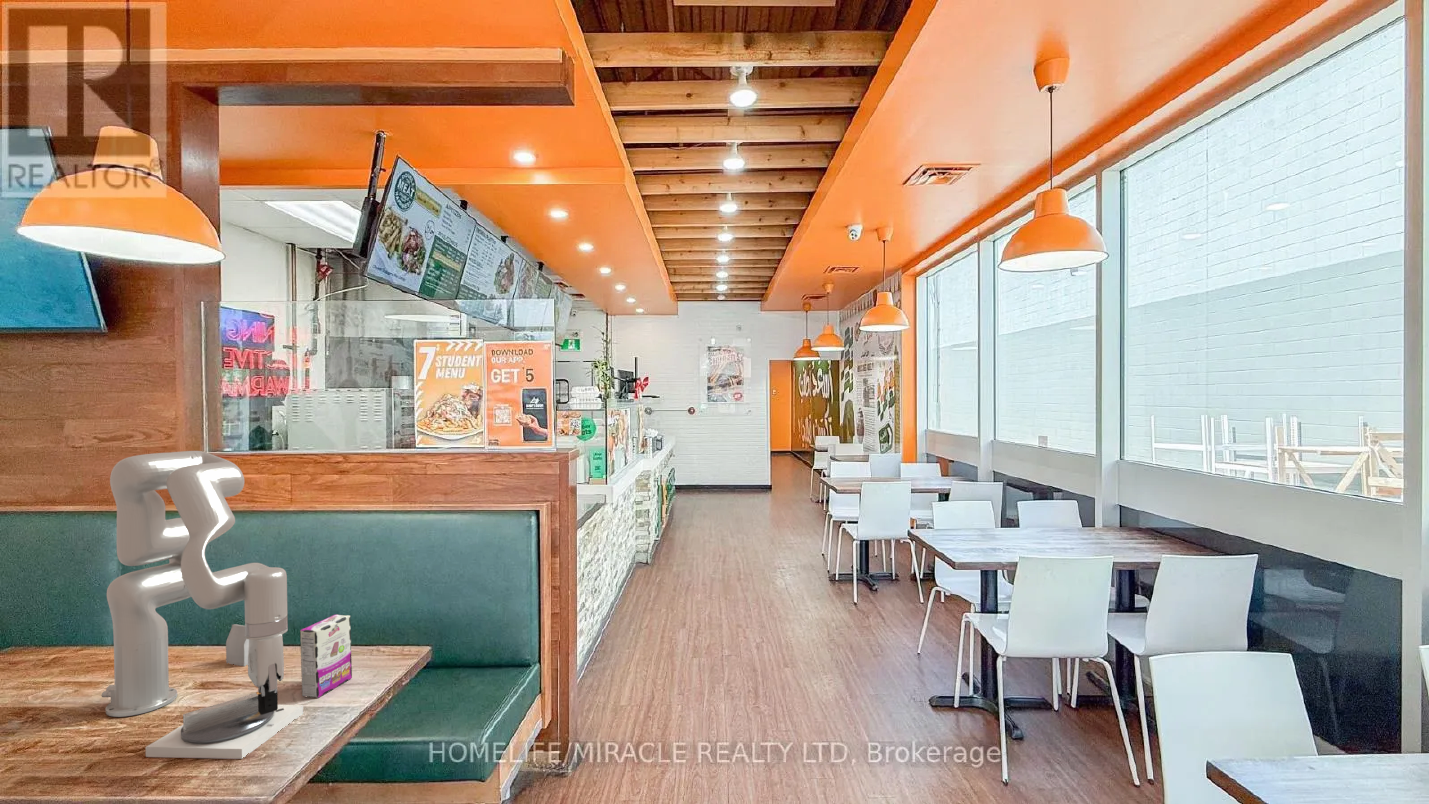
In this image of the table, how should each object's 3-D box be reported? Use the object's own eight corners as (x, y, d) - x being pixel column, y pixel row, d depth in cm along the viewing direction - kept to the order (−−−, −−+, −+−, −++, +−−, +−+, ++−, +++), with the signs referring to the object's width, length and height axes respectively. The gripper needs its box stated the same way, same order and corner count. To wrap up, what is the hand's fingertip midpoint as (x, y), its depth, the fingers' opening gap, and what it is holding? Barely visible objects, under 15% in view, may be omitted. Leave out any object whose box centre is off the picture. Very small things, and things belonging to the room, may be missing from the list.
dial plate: (145, 756, 129) (145, 746, 129) (218, 712, 147) (218, 702, 147) (241, 758, 128) (241, 748, 128) (303, 713, 146) (303, 704, 146)
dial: (188, 753, 126) (188, 729, 126) (174, 725, 137) (173, 703, 137) (283, 721, 138) (283, 700, 138) (263, 698, 149) (263, 678, 149)
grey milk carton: (244, 666, 172) (243, 629, 172) (226, 663, 174) (225, 626, 174) (257, 661, 176) (257, 624, 175) (240, 658, 178) (239, 622, 178)
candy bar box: (335, 676, 166) (335, 613, 165) (352, 678, 165) (352, 615, 164) (299, 697, 155) (298, 629, 154) (317, 699, 154) (316, 630, 153)
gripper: (238, 623, 141) (239, 706, 141) (253, 640, 130) (254, 730, 131) (278, 614, 146) (280, 694, 146) (296, 630, 136) (297, 717, 136)
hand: (268, 711), depth 139 cm, fingers closed
